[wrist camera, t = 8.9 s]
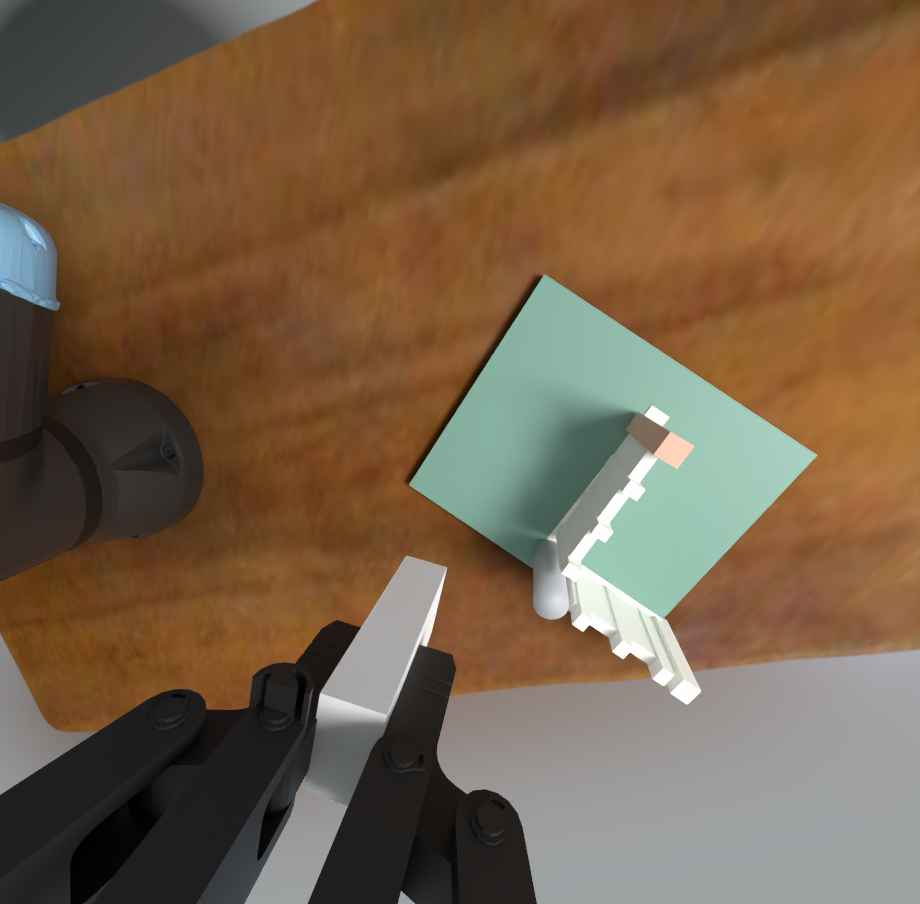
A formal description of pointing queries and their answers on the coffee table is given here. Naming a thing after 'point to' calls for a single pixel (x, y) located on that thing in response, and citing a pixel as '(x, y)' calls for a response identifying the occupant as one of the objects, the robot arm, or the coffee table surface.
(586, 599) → the fixed fence
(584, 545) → the white crenellated wall
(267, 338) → the coffee table surface
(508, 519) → the board
